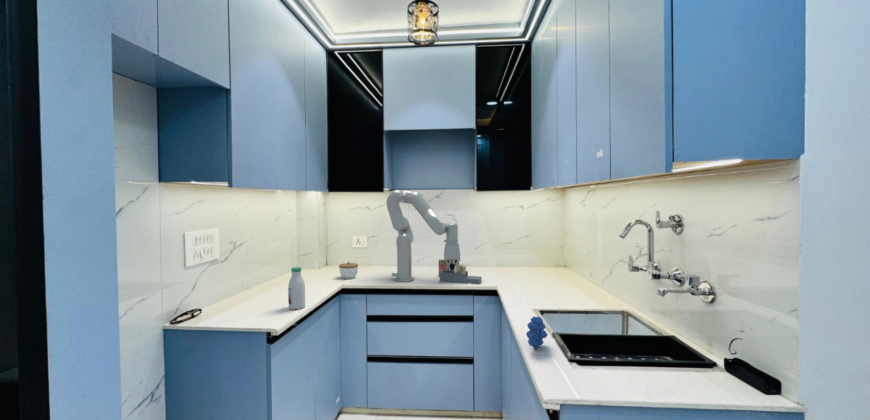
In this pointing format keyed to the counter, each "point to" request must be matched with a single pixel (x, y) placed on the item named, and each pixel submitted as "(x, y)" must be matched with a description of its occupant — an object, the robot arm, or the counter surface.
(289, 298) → the milk bottle
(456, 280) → the tube
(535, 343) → the grapes
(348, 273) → the lidded bowl
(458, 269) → the pine block
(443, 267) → the printed cardboard box
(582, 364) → the counter surface
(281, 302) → the counter surface
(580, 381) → the counter surface
